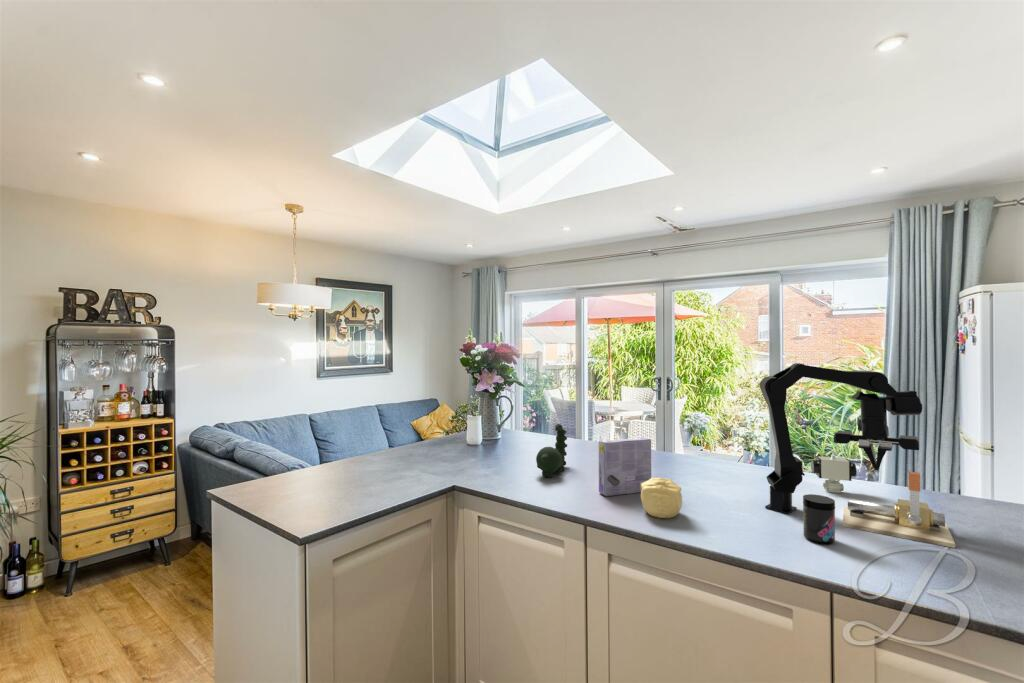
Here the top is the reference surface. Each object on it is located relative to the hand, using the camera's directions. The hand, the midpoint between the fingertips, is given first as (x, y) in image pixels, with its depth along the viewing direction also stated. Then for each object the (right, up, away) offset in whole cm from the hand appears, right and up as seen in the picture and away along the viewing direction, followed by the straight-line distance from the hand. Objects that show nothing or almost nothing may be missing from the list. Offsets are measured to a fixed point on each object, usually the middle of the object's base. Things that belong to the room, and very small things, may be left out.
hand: (876, 470), depth 129 cm
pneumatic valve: (+3, -14, +22) cm, 26 cm away
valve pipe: (0, -12, -6) cm, 14 cm away
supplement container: (-26, -14, -14) cm, 33 cm away
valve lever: (+1, -11, -11) cm, 16 cm away
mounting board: (-1, -13, -7) cm, 15 cm away
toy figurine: (-88, -15, +47) cm, 101 cm away
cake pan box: (-65, -14, +24) cm, 71 cm away
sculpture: (-60, -14, +4) cm, 62 cm away
